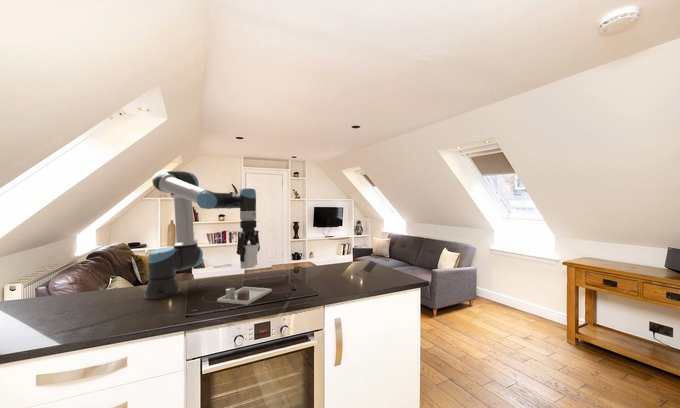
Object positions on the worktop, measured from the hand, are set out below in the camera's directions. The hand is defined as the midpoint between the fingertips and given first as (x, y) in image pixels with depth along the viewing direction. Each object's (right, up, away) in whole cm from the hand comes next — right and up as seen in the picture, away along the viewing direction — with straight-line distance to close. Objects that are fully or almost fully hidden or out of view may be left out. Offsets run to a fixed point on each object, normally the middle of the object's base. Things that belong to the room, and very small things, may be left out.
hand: (249, 266), depth 138 cm
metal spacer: (-6, -14, -8) cm, 17 cm away
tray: (-1, -15, -3) cm, 15 cm away
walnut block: (+1, -14, -10) cm, 17 cm away
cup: (0, 0, 0) cm, 0 cm away
